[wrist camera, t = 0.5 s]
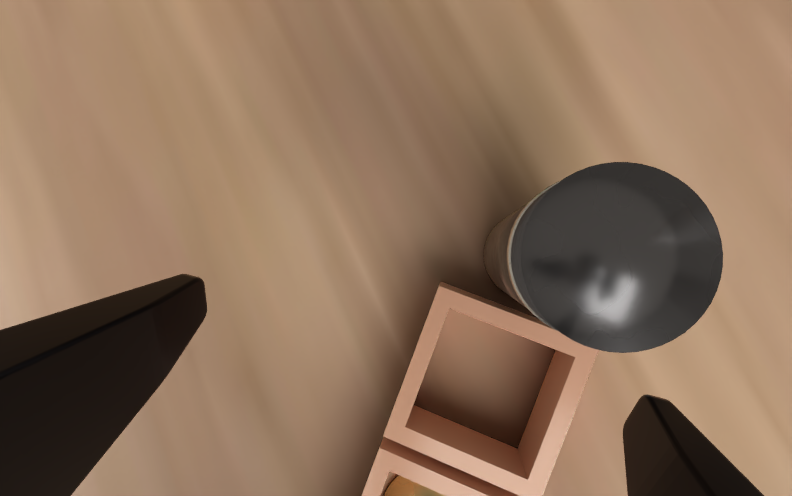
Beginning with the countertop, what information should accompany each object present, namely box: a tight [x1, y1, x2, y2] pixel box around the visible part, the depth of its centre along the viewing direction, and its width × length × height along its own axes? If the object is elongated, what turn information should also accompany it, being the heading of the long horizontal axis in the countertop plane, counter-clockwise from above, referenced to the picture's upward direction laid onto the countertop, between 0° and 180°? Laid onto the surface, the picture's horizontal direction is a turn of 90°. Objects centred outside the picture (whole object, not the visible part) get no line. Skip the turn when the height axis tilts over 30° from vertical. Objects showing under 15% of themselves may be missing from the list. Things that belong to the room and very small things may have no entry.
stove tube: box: [484, 162, 723, 353], centre depth 16 cm, size 4×4×12 cm
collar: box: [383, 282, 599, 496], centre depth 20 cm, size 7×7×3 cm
